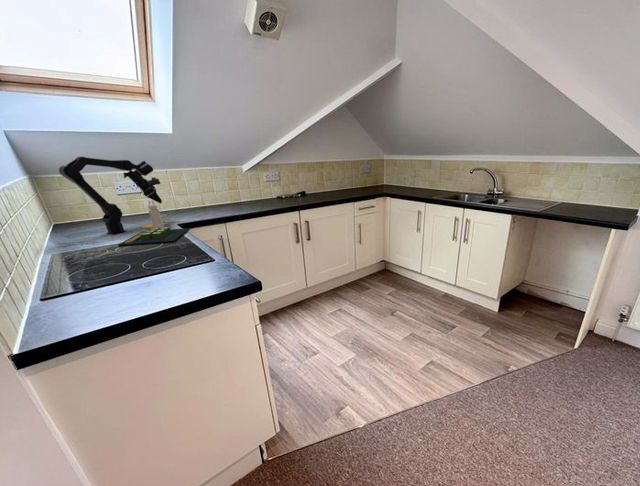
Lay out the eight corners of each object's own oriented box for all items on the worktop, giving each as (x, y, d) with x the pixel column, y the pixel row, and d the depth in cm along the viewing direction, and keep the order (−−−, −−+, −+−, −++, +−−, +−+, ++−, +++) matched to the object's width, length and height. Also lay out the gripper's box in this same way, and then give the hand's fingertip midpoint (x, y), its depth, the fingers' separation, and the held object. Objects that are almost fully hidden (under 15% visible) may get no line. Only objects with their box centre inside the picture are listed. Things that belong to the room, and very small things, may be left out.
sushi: (142, 232, 169) (140, 226, 168) (190, 229, 174) (188, 223, 172) (118, 246, 147) (116, 239, 145) (174, 242, 151) (172, 235, 150)
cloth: (148, 228, 178) (148, 227, 178) (140, 227, 181) (140, 226, 181) (168, 223, 188) (167, 223, 188) (160, 222, 191) (160, 222, 191)
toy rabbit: (162, 229, 176) (153, 200, 169) (152, 229, 175) (143, 201, 169) (165, 226, 181) (157, 199, 174) (156, 227, 180) (147, 199, 173)
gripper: (150, 173, 170) (173, 195, 179) (151, 171, 184) (172, 193, 193) (133, 184, 167) (156, 207, 176) (135, 182, 182) (157, 203, 191)
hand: (161, 202), depth 184 cm, fingers open, 9 cm apart
